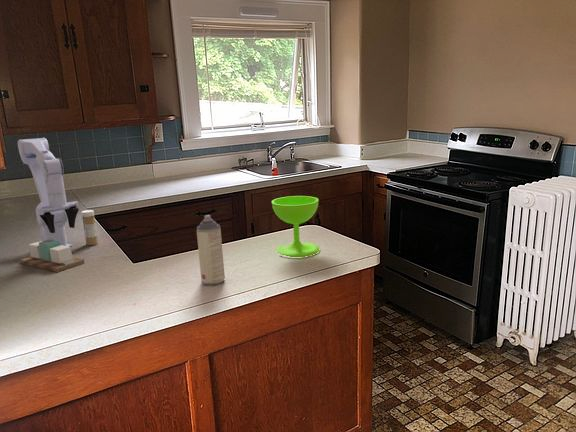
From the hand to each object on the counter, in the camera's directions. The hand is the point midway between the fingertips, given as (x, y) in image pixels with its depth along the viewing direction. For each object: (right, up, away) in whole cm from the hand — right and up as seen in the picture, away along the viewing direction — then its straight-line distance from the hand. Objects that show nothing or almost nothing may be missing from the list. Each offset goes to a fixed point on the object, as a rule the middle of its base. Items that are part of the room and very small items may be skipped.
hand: (62, 230), depth 168 cm
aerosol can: (+60, -14, -31) cm, 69 cm away
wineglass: (+85, -7, -6) cm, 85 cm away
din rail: (-1, -10, -7) cm, 12 cm away
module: (0, -9, -7) cm, 12 cm away
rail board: (0, -11, -6) cm, 13 cm away
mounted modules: (-1, -9, -7) cm, 12 cm away
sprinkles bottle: (+5, -6, +15) cm, 17 cm away
